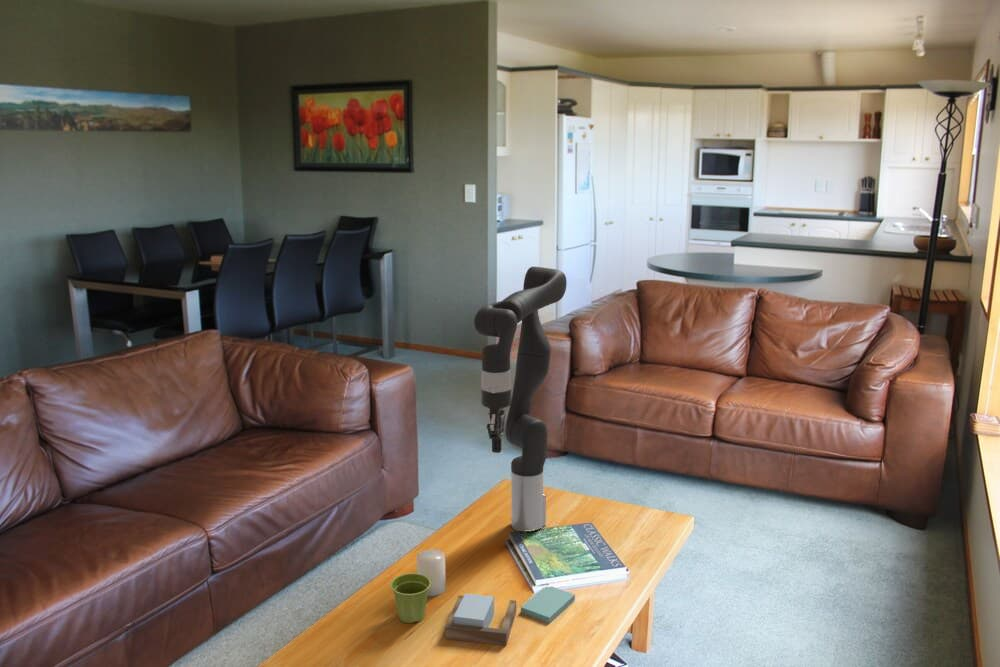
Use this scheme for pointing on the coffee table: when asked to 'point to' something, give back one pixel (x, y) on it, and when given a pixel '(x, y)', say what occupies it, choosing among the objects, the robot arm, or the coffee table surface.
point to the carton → (475, 611)
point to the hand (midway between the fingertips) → (496, 451)
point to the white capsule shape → (433, 570)
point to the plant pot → (411, 596)
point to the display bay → (481, 628)
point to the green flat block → (547, 604)
